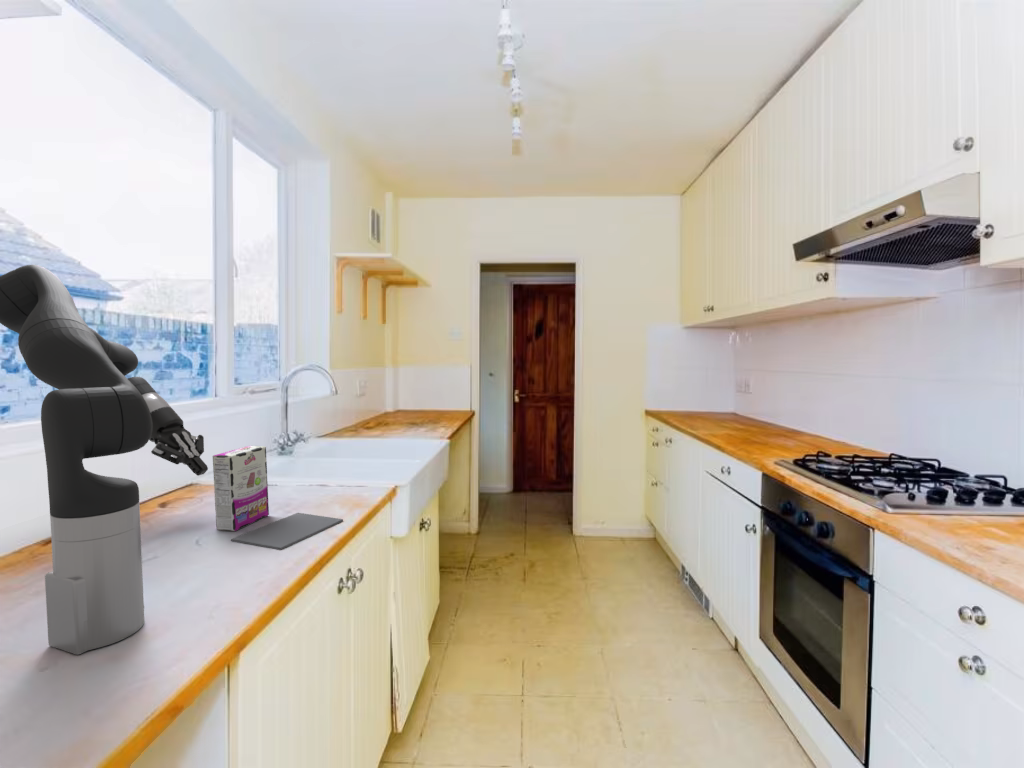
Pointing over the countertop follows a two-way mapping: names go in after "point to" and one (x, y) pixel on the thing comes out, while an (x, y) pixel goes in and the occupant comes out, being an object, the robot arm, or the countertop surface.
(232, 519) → the candy bar box
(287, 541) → the mat
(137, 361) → the robot arm
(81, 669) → the countertop surface
